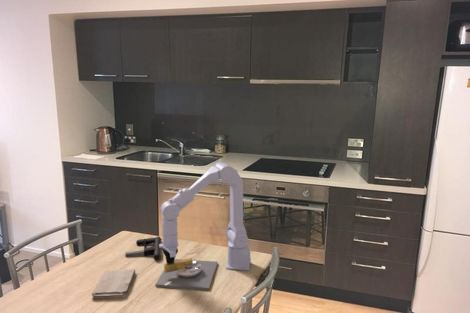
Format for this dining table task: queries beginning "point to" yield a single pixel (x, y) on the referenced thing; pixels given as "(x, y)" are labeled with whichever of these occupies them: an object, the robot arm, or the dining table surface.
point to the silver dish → (184, 268)
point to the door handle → (150, 251)
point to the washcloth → (114, 284)
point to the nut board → (196, 283)
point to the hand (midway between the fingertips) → (170, 266)
